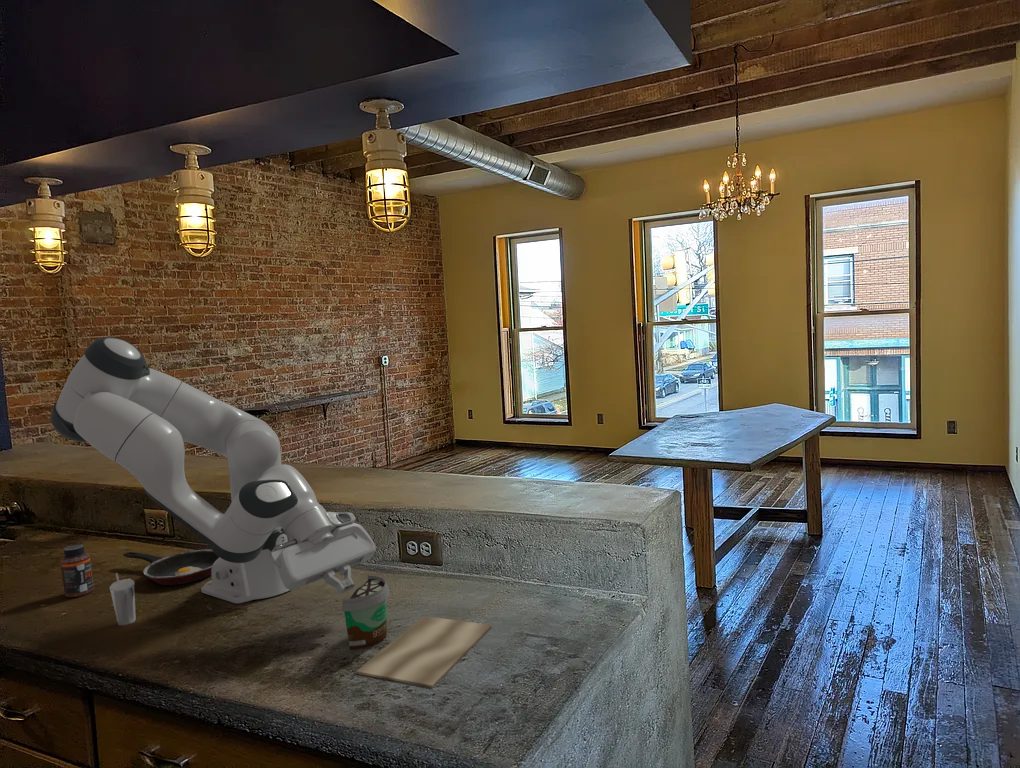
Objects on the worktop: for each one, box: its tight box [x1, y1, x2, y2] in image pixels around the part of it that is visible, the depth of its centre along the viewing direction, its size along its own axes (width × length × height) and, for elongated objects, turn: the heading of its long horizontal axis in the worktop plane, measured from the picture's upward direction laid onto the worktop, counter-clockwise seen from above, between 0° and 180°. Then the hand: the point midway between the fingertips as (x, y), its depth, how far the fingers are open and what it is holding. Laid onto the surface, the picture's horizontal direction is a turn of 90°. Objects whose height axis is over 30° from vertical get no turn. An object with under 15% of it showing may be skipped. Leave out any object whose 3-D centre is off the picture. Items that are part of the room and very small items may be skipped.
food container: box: [341, 574, 390, 651], centre depth 129 cm, size 12×6×10 cm, turn 168°
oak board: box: [355, 615, 493, 689], centre depth 123 cm, size 15×22×1 cm
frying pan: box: [122, 549, 219, 586], centre depth 173 cm, size 19×32×4 cm, turn 65°
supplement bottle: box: [60, 544, 95, 598], centre depth 162 cm, size 6×6×11 cm
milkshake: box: [109, 572, 137, 627], centre depth 144 cm, size 4×5×10 cm
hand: (347, 589), depth 133 cm, fingers closed
